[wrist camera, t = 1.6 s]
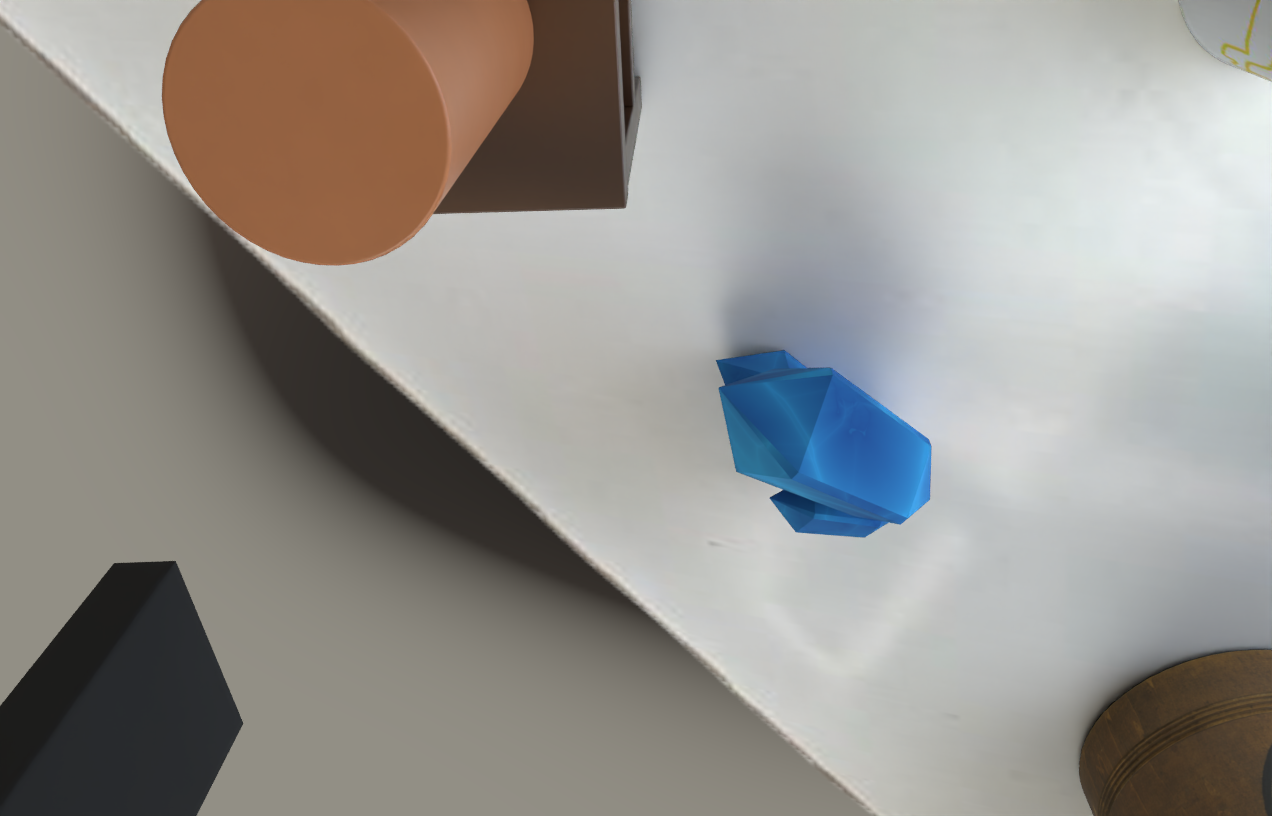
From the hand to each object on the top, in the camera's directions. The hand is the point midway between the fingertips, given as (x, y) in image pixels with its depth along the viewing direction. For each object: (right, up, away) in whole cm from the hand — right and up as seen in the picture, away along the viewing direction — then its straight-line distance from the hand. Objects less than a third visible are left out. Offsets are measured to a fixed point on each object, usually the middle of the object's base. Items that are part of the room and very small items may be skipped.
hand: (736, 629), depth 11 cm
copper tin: (-6, +12, +13) cm, 19 cm away
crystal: (+6, +3, +31) cm, 32 cm away
